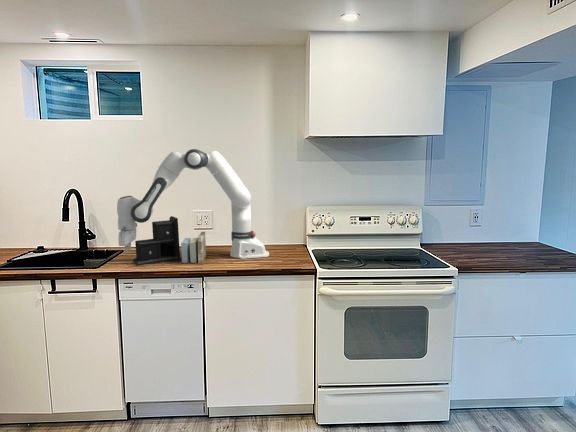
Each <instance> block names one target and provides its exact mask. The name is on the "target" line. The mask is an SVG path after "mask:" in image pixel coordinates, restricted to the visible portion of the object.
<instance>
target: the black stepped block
mask: <svg viewBox="0 0 576 432" xmlns="http://www.w3.org/2000/svg"><path fill="white" fill-rule="evenodd" d="M168 219H169V220H159V221H158V220H157V221H152V222H151V224H152V225H151V227H152V238H149V239H148V238H147V239H140V240H134V244H135V255H136V257H135V258H134V257H133V259H132V263H133V264H134V265H136V266H137V267H138V266H144V265H152V264H158V263H159V264H160V263H165V262H171V261H172V262H173V261H179V260H181V253H180V252H181V249H180V248H181V246H180V233H179V232H180V231H179V218H178V217H176V216H172V215H171V216H170V217H169V218H168Z"/></svg>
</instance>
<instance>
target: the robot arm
mask: <svg viewBox="0 0 576 432" xmlns="http://www.w3.org/2000/svg"><path fill="white" fill-rule="evenodd" d="M185 168H187V169H189V170H194V171H197V170H201V169H202V168H206V169H207V170H208V171H209V172H210V174H211V175H212V177H213V178H214V179H215V180H216V182H217V183H218V185H219V186H220V188H221V189H222V191H223V192H224V193H225V194H226V195H227V198H229V200H230V202H231V203H230V205H231V235H230V236H231V237H230V238H231V248H230V254H229V256H230V257H231V258H237V259H241V260H242V259H245V260H247V259H256V258H257V259H258V258H267V257H269V256H270V252H269V251H268V250H266V247H265V244H264V243H263V241H261V240H259V239H258V238H257V237H256V236H257V233H256V232H255V230H252V210H251V209H252V208H251V202H252V195H251V193H250V191H249V190H248V188H247V187H246V185H244V183H243V181H242V180H241V178H240V177H239V176H238V174H237V173H236V172H235V170H234V168H232V166H231V165H230V164H229V162H228V161H227V160H226V159H225V157H223V155H222V154H221V153H220V152H218V151H217V150H211V151H209V152H208V153H206V152H204V151H202V150H200V149H197V148H196V149H195V148H192V149H188V150H187V151H186V152H185V153H184V154H183V153H181V152H178V151H176V150H175V151H174V150H173V151H170V152H169V154H167V156H165V158H164V159H163V161H162V162H161V163H160V165H159V166H158V167H157V170H156V172H155V174H154V178H153V179H152V183H151V186H150V187H149V189H148V190H147V192H146V193H145V195H144V196H143V198H142V199H138V198H136V197H134V196H133V195H126V196H121V197H120V198H118V199H117V204H116V205H117V206H116V213H117V215H118V216H117V230H119V232H118V246H119V247H124V248H125V252H130V251H132V250H131V247H132V242H135V241H136V239H137V227H138V223H142V224H143V223H146V222H147V221H149V220H150V218H151V216H152V214H153V211H154V205H155V204H156V202H158V201H157V200H158V199H159V198H160V196H161V194H162V193H163V192H164V191H166V190H167V189H168V188H169V187H170V186H172V185H173V183H175V181H176V180H177V179H178V178H179V176H180V175H181V172H182V171H183V170H184V169H185Z"/></svg>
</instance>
